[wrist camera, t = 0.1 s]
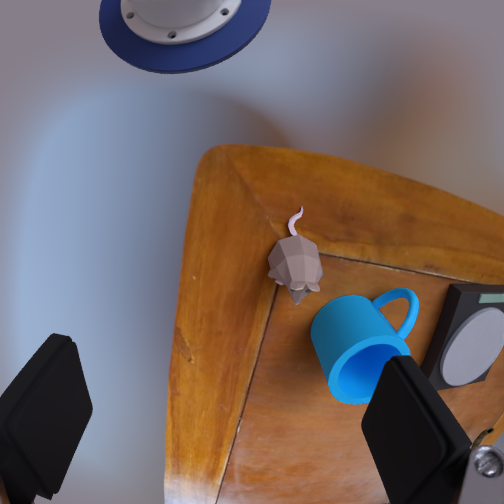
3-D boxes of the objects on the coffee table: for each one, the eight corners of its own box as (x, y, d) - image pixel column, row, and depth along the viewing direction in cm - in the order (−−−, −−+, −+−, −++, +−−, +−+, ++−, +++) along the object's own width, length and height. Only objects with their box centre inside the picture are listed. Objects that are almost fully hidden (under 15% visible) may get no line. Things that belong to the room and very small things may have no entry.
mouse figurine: (328, 209, 29) (351, 226, 23) (314, 287, 32) (331, 320, 25) (274, 202, 29) (284, 217, 23) (263, 283, 32) (269, 316, 25)
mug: (341, 368, 35) (362, 415, 28) (294, 333, 33) (309, 382, 26) (415, 297, 33) (452, 333, 25) (375, 253, 31) (412, 284, 23)
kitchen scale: (450, 283, 33) (465, 294, 30) (510, 284, 34) (524, 294, 30) (414, 382, 37) (424, 396, 34) (476, 371, 38) (486, 383, 35)
